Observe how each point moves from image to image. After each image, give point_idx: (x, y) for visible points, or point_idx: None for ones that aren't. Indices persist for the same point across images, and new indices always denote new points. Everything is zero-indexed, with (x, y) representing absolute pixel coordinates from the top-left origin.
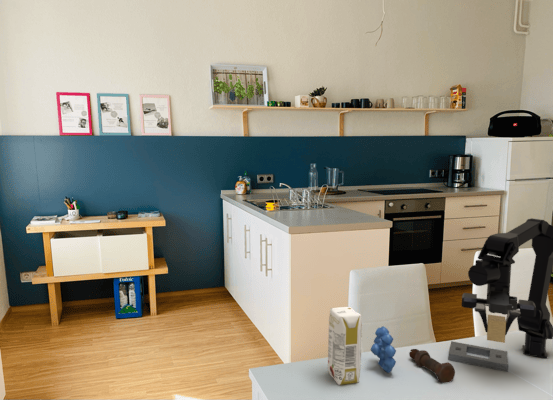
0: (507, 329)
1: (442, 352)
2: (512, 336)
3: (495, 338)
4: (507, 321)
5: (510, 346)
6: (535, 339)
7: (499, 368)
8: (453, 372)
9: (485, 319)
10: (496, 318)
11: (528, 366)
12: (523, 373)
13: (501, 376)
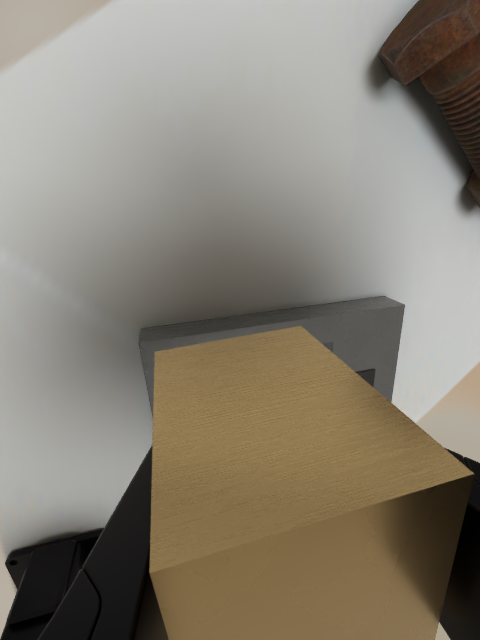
0: (137, 494)
1: (401, 353)
2: None
3: (242, 350)
4: (130, 628)
5: None
6: (36, 634)
7: (178, 326)
8: (405, 37)
9: (474, 490)
10: (331, 610)
11: (65, 437)
12: (70, 354)
13: (159, 259)
